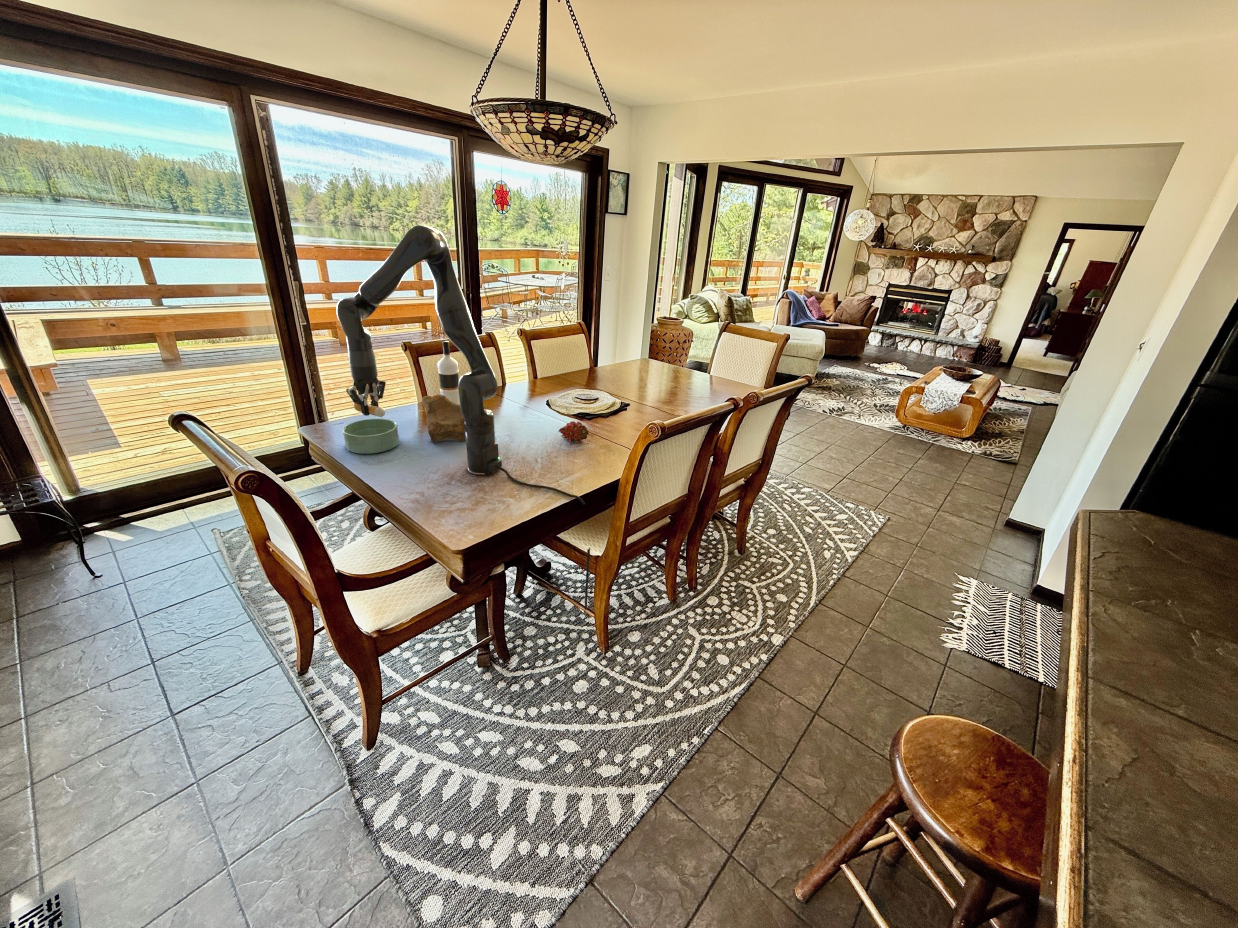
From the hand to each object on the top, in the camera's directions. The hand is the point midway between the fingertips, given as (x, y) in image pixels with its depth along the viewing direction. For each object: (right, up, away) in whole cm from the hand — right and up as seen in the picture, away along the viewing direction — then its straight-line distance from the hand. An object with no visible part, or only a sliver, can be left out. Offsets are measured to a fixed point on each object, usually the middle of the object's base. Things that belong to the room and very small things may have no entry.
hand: (370, 413), depth 161 cm
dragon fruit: (+65, -8, +27) cm, 71 cm away
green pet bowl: (-5, -10, +12) cm, 16 cm away
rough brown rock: (+18, -7, +21) cm, 29 cm away
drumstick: (0, 0, 0) cm, 0 cm away
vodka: (+10, +6, +49) cm, 50 cm away
